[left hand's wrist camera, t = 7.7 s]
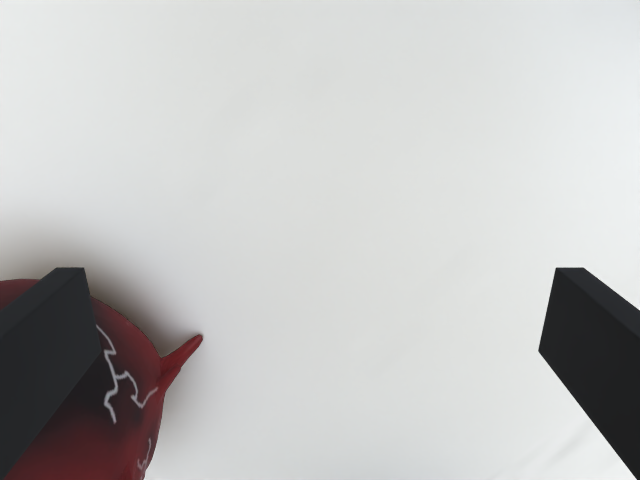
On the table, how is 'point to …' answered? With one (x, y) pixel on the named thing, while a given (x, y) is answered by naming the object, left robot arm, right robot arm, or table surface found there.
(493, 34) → the table surface
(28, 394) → the left robot arm
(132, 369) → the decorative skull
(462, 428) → the table surface
